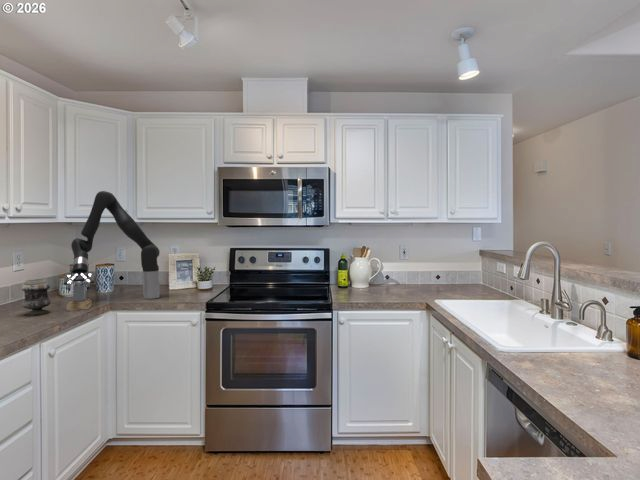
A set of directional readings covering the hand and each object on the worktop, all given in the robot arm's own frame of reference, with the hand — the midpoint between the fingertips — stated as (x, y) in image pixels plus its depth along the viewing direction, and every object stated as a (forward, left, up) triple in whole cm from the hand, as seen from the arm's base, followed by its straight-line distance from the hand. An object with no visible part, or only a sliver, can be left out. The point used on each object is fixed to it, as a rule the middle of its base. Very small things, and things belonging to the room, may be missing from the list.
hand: (78, 289), depth 202 cm
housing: (0, -1, -7) cm, 7 cm away
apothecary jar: (+18, +4, -11) cm, 22 cm away
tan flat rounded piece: (0, -1, -11) cm, 11 cm away
